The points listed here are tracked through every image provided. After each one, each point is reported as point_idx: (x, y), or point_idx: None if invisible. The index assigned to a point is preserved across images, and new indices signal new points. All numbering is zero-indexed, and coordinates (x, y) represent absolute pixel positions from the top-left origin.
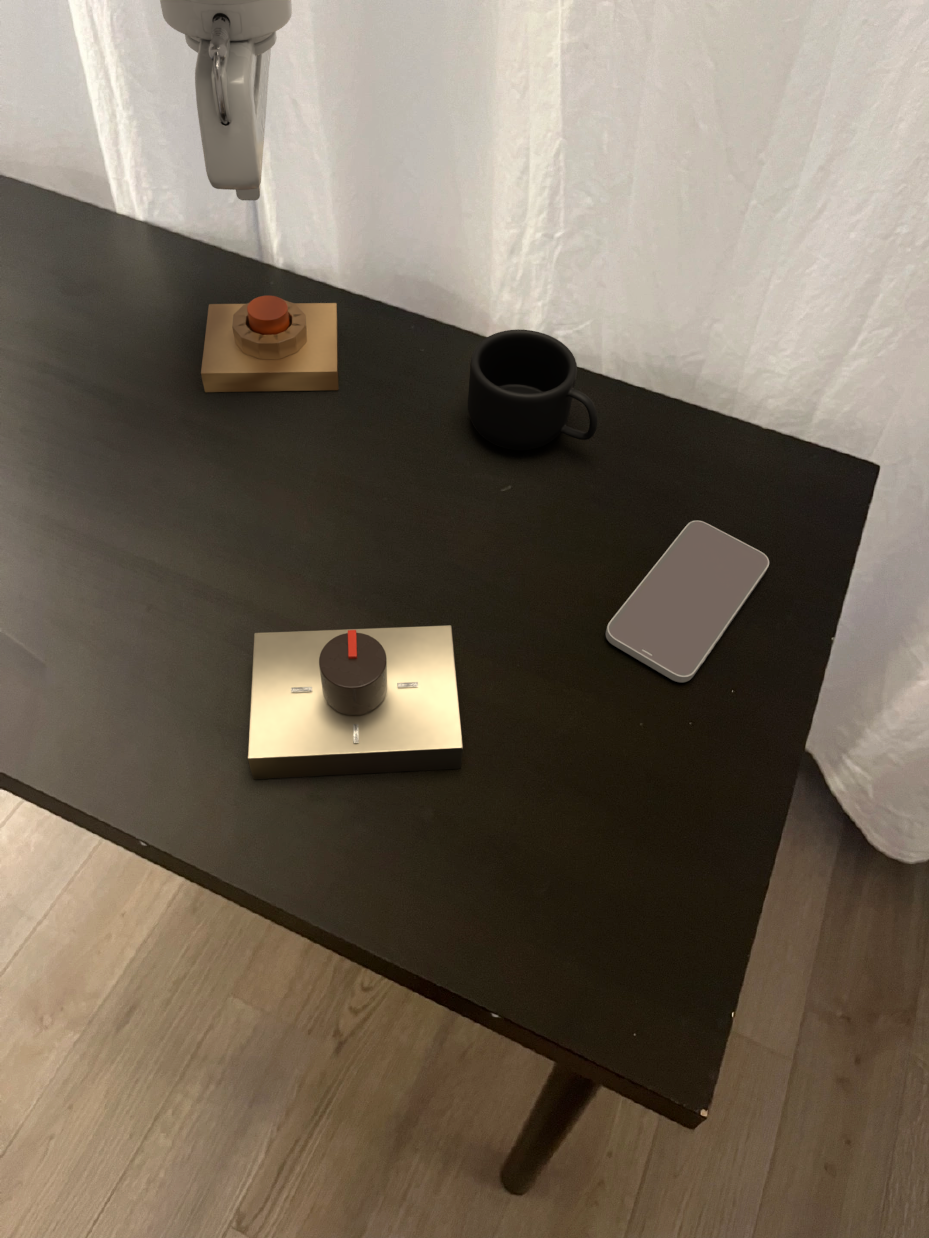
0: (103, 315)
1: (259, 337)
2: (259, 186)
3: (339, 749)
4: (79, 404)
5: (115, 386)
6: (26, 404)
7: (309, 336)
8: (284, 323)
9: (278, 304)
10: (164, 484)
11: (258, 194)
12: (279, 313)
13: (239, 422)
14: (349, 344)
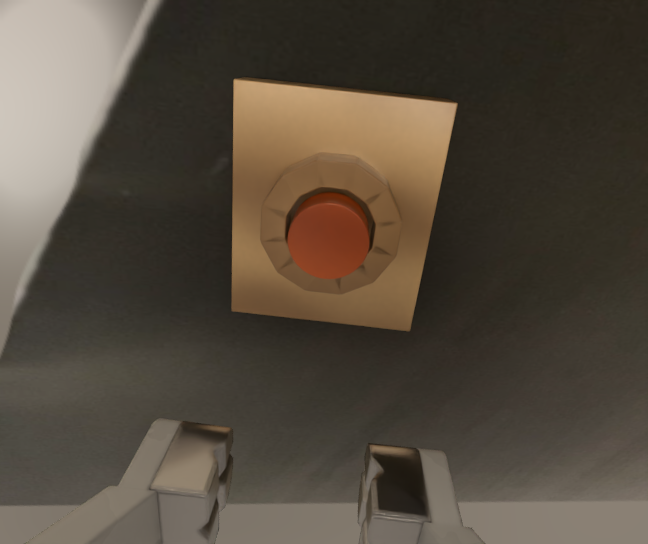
0: (217, 420)
1: (380, 253)
2: (418, 472)
3: None
4: (396, 445)
5: (369, 411)
6: None
7: (339, 148)
8: (356, 207)
9: (320, 220)
10: (580, 366)
11: (447, 465)
12: (351, 221)
13: (485, 269)
14: (314, 59)
